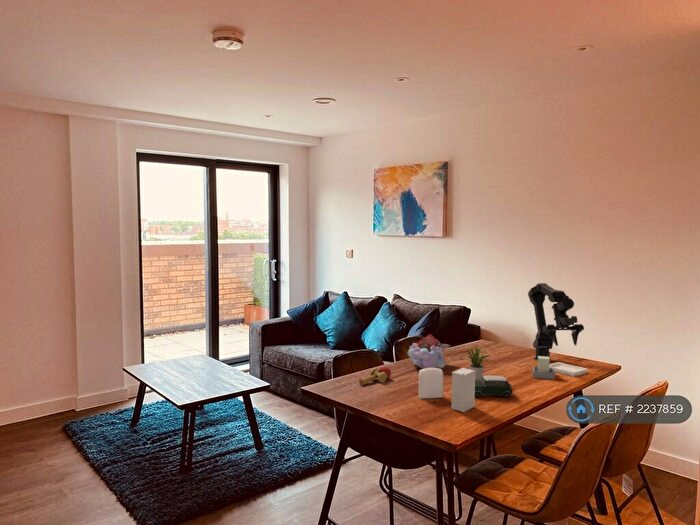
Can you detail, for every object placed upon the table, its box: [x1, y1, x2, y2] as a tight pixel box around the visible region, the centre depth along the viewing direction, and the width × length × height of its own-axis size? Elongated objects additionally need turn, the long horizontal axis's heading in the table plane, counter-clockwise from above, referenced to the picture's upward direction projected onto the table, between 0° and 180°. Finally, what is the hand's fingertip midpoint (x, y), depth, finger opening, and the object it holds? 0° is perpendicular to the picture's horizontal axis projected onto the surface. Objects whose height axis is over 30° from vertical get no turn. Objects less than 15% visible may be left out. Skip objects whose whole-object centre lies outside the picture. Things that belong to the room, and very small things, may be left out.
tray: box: [549, 362, 589, 378], centre depth 252 cm, size 16×12×2 cm
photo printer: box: [418, 368, 444, 399], centre depth 210 cm, size 10×4×12 cm, turn 96°
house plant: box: [465, 344, 492, 382], centre depth 236 cm, size 14×14×16 cm
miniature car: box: [475, 375, 514, 400], centre depth 214 cm, size 9×18×8 cm, turn 86°
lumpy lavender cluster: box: [407, 333, 452, 370], centre depth 259 cm, size 20×22×18 cm
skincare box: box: [450, 367, 476, 413], centre depth 197 cm, size 8×6×15 cm
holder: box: [532, 366, 556, 381], centre depth 243 cm, size 10×10×3 cm
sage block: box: [537, 356, 551, 372], centre depth 243 cm, size 5×5×9 cm
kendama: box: [358, 365, 392, 386], centre depth 233 cm, size 8×6×18 cm
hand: (566, 345), depth 247 cm, fingers open, 9 cm apart
